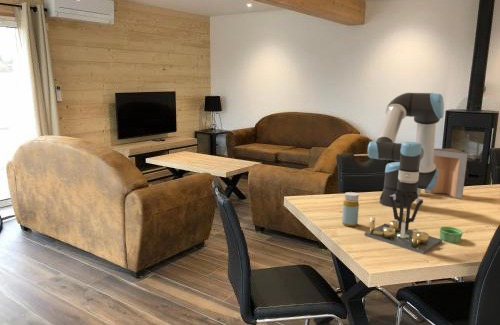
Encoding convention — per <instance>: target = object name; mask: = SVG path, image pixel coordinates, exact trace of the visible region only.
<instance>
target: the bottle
mask: <svg viewBox="0 0 500 325" xmlns="http://www.w3.org/2000/svg"><path fill="white" fill-rule="evenodd" d="M359 195H360V194H359V193H357V192H352V191H348V192H345V193H344V201H343V203H342V218H341V220H342V222H341V223H342V225H343V226H345V227H348V228H349V227H351V228H355V227H357V225H358V221H359V209H360V204H359Z"/></svg>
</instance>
